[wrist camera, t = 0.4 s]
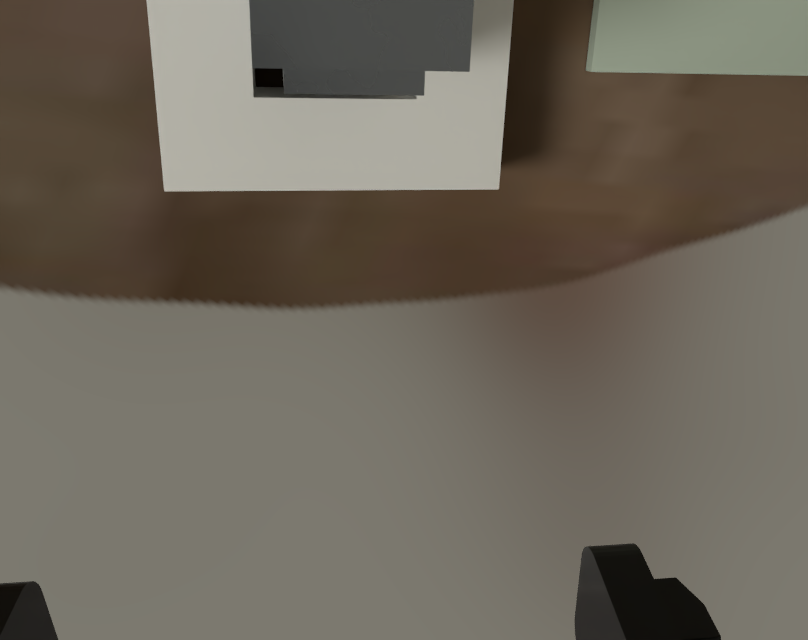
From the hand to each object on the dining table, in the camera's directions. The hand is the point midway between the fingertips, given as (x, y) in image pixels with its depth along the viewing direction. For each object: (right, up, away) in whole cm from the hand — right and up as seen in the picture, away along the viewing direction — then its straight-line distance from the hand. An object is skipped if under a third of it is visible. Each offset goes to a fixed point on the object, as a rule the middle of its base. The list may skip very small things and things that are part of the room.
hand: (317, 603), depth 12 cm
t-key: (-1, +16, +17) cm, 23 cm away
